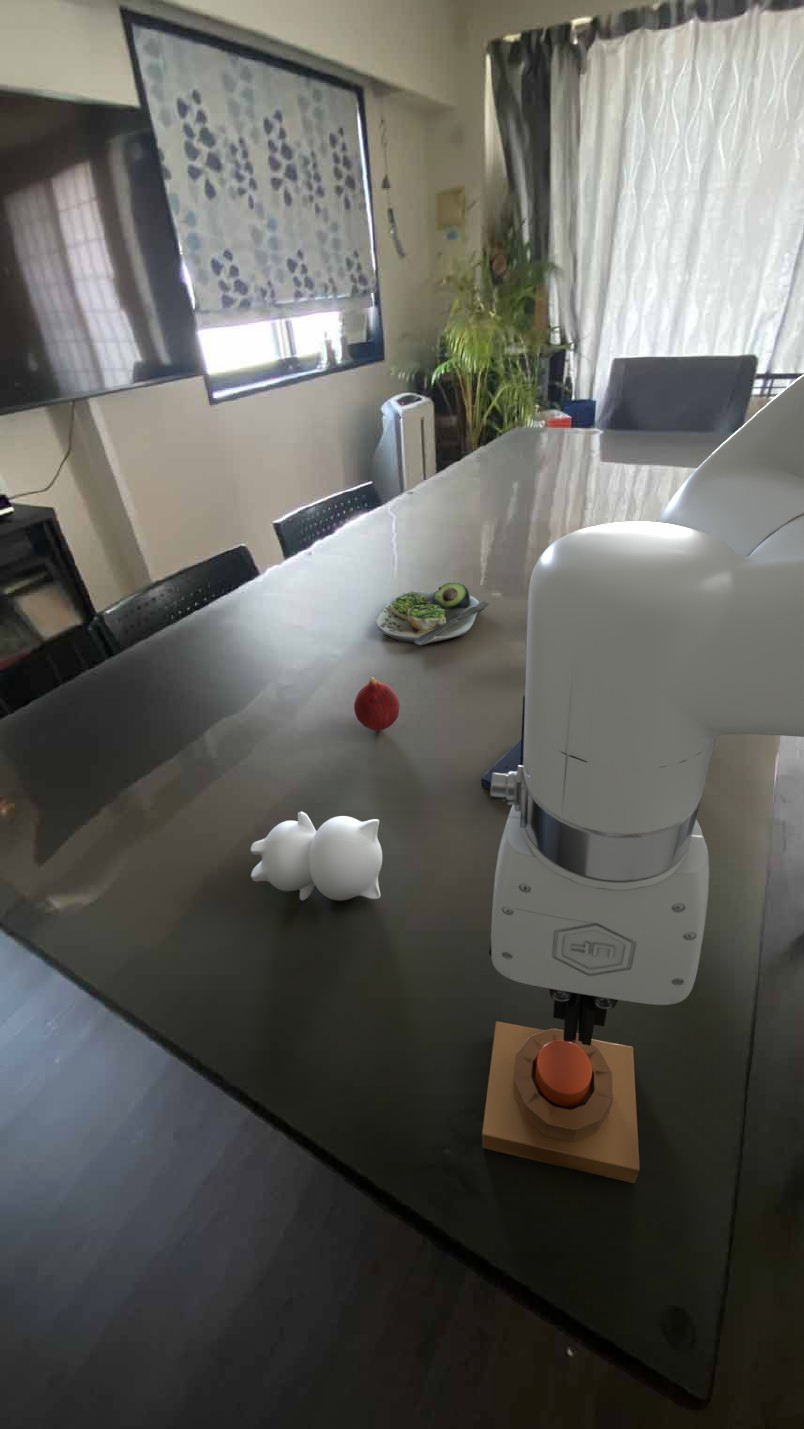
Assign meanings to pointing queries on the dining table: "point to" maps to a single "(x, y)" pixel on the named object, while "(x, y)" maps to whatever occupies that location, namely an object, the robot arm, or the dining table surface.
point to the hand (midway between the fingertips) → (577, 1020)
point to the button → (563, 1073)
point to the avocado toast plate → (430, 614)
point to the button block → (562, 1107)
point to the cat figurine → (322, 857)
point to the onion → (376, 705)
